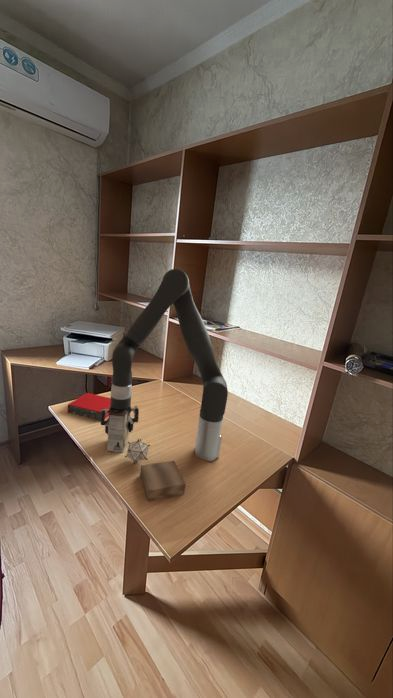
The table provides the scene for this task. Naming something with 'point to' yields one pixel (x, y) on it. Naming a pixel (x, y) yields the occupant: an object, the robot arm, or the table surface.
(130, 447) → the game die
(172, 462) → the walnut plinth
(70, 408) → the red device housing
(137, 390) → the table surface
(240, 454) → the table surface
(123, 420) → the coffee box
